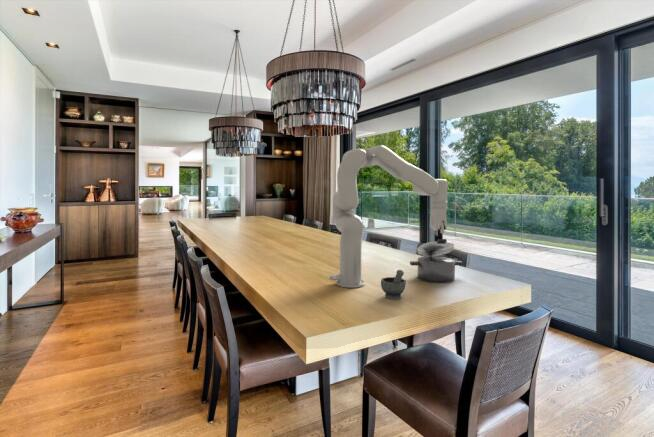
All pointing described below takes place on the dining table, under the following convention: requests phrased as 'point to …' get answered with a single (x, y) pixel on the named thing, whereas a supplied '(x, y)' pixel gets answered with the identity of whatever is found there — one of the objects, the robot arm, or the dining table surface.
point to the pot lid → (435, 248)
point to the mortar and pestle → (393, 286)
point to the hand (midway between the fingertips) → (438, 244)
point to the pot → (436, 269)
